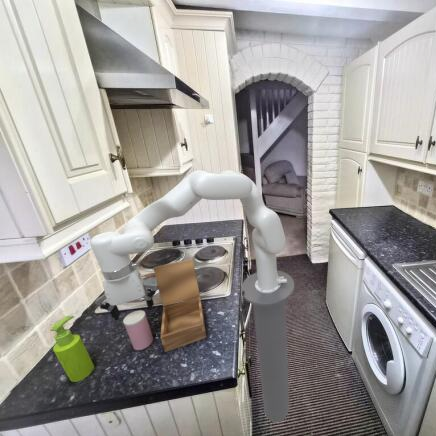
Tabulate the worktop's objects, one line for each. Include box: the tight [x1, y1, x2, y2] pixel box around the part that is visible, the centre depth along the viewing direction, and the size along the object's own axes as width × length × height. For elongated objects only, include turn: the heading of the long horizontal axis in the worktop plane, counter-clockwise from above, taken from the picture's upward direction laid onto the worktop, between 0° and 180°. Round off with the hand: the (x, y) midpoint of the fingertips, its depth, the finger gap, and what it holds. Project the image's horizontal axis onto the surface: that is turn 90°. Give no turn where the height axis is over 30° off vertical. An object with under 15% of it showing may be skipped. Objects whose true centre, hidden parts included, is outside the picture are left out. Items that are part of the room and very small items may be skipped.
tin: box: [141, 272, 159, 292], centre depth 107 cm, size 15×3×8 cm, turn 126°
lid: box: [153, 258, 201, 307], centre depth 92 cm, size 16×14×6 cm
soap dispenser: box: [49, 315, 95, 383], centre depth 69 cm, size 6×7×20 cm
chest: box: [160, 296, 207, 353], centre depth 86 cm, size 16×14×7 cm
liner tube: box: [122, 309, 154, 351], centre depth 80 cm, size 6×6×12 cm
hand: (134, 312), depth 78 cm, fingers open, 9 cm apart
